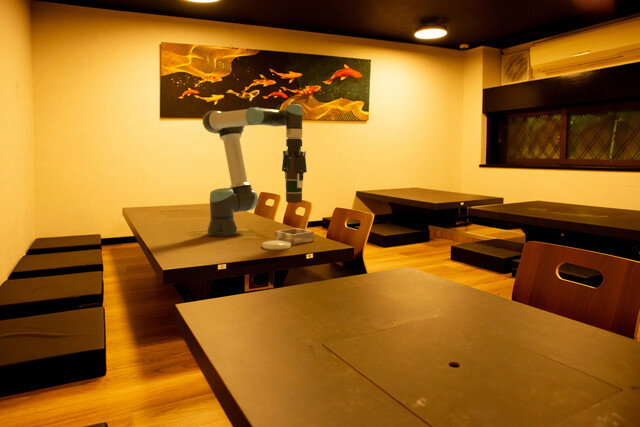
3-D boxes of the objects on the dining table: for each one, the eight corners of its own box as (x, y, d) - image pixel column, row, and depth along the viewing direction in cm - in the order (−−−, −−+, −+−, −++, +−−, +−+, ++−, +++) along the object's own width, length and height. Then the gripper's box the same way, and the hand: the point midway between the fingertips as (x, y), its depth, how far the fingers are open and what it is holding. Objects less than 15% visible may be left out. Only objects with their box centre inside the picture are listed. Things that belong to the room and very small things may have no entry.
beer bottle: (303, 201, 214) (303, 151, 210) (300, 203, 206) (301, 151, 202) (287, 200, 214) (287, 151, 211) (284, 202, 207) (284, 151, 203)
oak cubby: (274, 240, 213) (274, 231, 212) (295, 236, 222) (295, 227, 221) (292, 244, 203) (292, 235, 203) (313, 240, 213) (313, 231, 212)
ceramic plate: (256, 246, 199) (256, 243, 199) (278, 242, 208) (278, 239, 208) (274, 251, 190) (274, 247, 189) (296, 246, 199) (296, 243, 198)
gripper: (274, 138, 210) (274, 185, 214) (303, 138, 196) (302, 189, 199) (286, 138, 216) (286, 185, 219) (315, 138, 201) (314, 188, 204)
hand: (294, 186), depth 209 cm, fingers closed on beer bottle, 8 cm apart
